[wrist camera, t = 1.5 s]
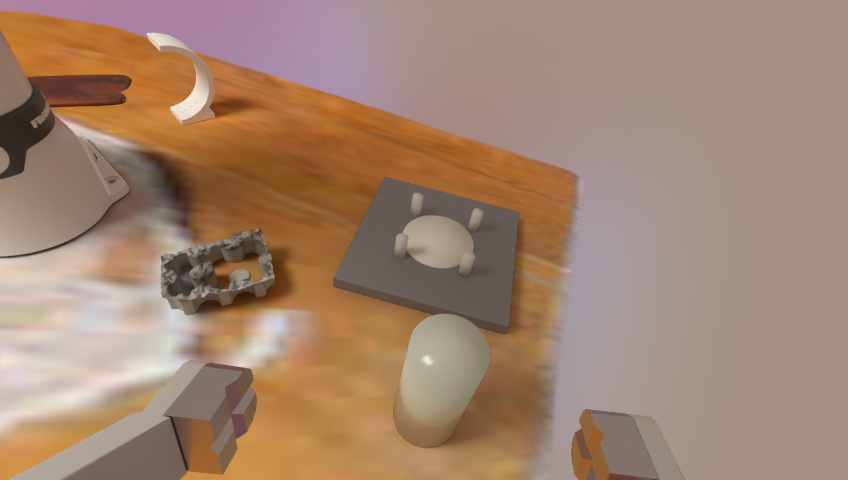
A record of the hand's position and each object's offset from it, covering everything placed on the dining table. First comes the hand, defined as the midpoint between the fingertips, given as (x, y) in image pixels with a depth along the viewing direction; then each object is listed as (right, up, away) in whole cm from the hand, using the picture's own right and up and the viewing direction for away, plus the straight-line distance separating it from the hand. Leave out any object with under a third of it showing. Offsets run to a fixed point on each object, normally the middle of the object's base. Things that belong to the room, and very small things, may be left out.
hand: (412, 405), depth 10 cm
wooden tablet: (-61, +26, +54) cm, 86 cm away
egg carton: (-22, -1, +35) cm, 41 cm away
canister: (0, -12, +28) cm, 31 cm away
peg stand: (+2, +3, +43) cm, 43 cm away
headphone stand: (-36, +24, +56) cm, 71 cm away
